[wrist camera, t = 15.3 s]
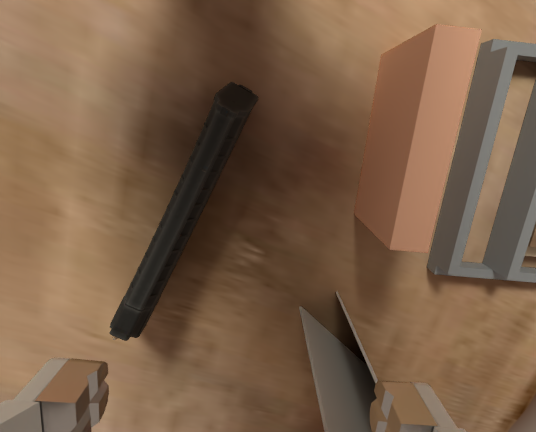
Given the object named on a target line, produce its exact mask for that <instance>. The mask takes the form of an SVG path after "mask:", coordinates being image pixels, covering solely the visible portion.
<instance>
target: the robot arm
mask: <svg viewBox="0 0 536 432" xmlns="http://www.w3.org/2000/svg"><path fill="white" fill-rule="evenodd" d="M107 374H108V364H107V363H106V362H104V361H93V360H82V359H68V358H57V357H54V358H52V359H49V360H48V361H47V362H46V364H45V365H44V366H43V367H42V368H41V369H40V370H39V371H38V372H37V374H36V375H35V376H34V377H33V378H32V379H31V380H30V381H29V382H28V384H27V385H26V386H25V387H24V388H23V389H22V390H21V391H20V392H19V394H18V395H17V396H16V397H15V398H14V399H13V400H6V401H4V402H2V403H0V432H91V427H93V426H94V425H95V424H97V423H98V422H99V421H100V419H101V418H102V416H103V414H104V411H105V408H106V405H107V402H108V395H109V386H108V385H107V383H106V382H105V381H104V379H105V378H106V376H107ZM374 392H375V395H376V397H377V398H376V399H375V400H374V401H373V402H372V403H371V407H370V426H371V431H372V432H467V431H465V430H464V429H462V428H457V426H456V425H455V423H454V422H453V420H452V419H451V417H450V416H449V414H448V412H447V411H446V409H445V408H444V406H443V405H442V403H441V402H440V400H439V399H438V397H437V396H436V394H435V392H434V391H433V389H432V388H431V386H430V385H429V384H427V383H419V382H410V383H409V382H395V381H377V383H376V385H375V389H374Z"/></svg>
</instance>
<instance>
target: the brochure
mask: <svg viewBox="0 0 536 432" xmlns="http://www.w3.org/2000/svg"><path fill="white" fill-rule="evenodd" d="M336 294H337V297H338V299H339V301H340V303H341V306H342V308H343V310H344V313H345V315H346V317H347V319H348V322H349V324H350V326H351V329H352V331H353V333H354V335H355V338H356V340H357V342H358V344H359V347H360V349H361V351H362V354H363V356H364V358H365V360H366V363H367V365H368V366H367V365H366V364H365V363H364V362H363V361H361V360H360V359H359V358H358V357H357V356H356V355H355V354H354V353H353V352H351V351H350V350H349V349H348V348H347V347H346V346H345V345H344V344H343V343H341V342H340V341H339V340H338V339H337V338H336V337H335V336H334V335H333V334H331V333H330V332H329V331H328V330H327V329H326V328H325V327H324V326H323V325H321V324H320V323H319V322H318V321H317V320H316V319H315V318H314V317H313V316H312V315H310V314H309V313H308V312H307V311H306V310H305V309H304V308H303V307H302V306H300V307H299V310H300V315H301V319H302V324H303V329H304V334H305V339H306V344H307V349H308V353H309V358H310V363H311V368H312V373H313V378H314V383H315V387H316V392H317V397H318V402H319V407H320V412H321V417H322V421H323V426H324V431H325V432H372V431H371V426H370V407H371V403H372V402H373V401H374V400H375V399H376V398H377V397H376V395H375V392H374V389H375V385H376V383H377V381H378V379H377V377H376V375H375V373H374V371H373V368H372V366H371V364H370V362H369V360H368V357H367V355H366V353H365V351H364V349H363V346H362V344H361V342H360V340H359V338H358V335H357V333H356V331H355V329H354V326H353V324H352V322H351V320H350V318H349V315H348V313H347V311H346V309H345V307H344V304H343V302H342V300H341V298H340V296H339V293H338V291H336Z"/></svg>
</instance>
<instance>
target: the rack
mask: <svg viewBox="0 0 536 432" xmlns="http://www.w3.org/2000/svg"><path fill="white" fill-rule="evenodd" d="M516 60H522V61H530V62H536V44H531V43H523V42H514V41H505V40H497V39H493V40H490V41H487V42H484V43H481V47H480V51H479V55H478V59H477V63H476V67H475V71H474V76H473V80H472V84H471V88H470V92H469V96H468V100H467V104H466V108H465V113H464V117H463V121H462V125H461V129H460V133H459V137H458V141H457V145H456V149H455V154H454V158H453V162H452V166H451V170H450V174H449V178H448V182H447V186H446V190H445V195H444V199H443V203H442V207H441V211H440V215H439V219H438V223H437V227H436V232H435V236H434V240H433V244H432V248H431V252H430V256H429V260H428V264H427V268H428V269H429V270H430V271H431V272H432V273H434V274H438V275H450V276H462V277H474V278H486V279H499V280H511V281H523V282H535V283H536V268H531V267H521V265H522V262H523V259H524V256H525V253H526V250H527V247H528V244H529V241H530V238H531V235H532V232H533V229H534V225H535V222H536V80H535V84H534V87H533V91H532V94H531V98H530V101H529V105H528V108H527V111H526V115H525V118H524V122H523V125H522V129H521V132H520V135H519V139H518V142H517V146H516V149H515V153H514V156H513V160H512V163H511V166H510V170H509V173H508V177H507V180H506V184H505V187H504V190H503V194H502V197H501V201H500V204H499V208H498V211H497V215H496V218H495V221H494V225H493V228H492V232H491V235H490V239H489V242H488V245H487V249H486V252H485V256H484V259H483V263H472V262H461V261H462V258H463V254H464V250H465V247H466V243H467V239H468V236H469V232H470V228H471V224H472V221H473V217H474V213H475V210H476V206H477V202H478V199H479V195H480V191H481V188H482V184H483V180H484V177H485V173H486V169H487V166H488V162H489V158H490V155H491V151H492V147H493V144H494V140H495V136H496V133H497V129H498V125H499V122H500V118H501V114H502V111H503V107H504V103H505V100H506V96H507V92H508V89H509V85H510V81H511V78H512V74H513V70H514V67H515V63H516Z"/></svg>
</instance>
